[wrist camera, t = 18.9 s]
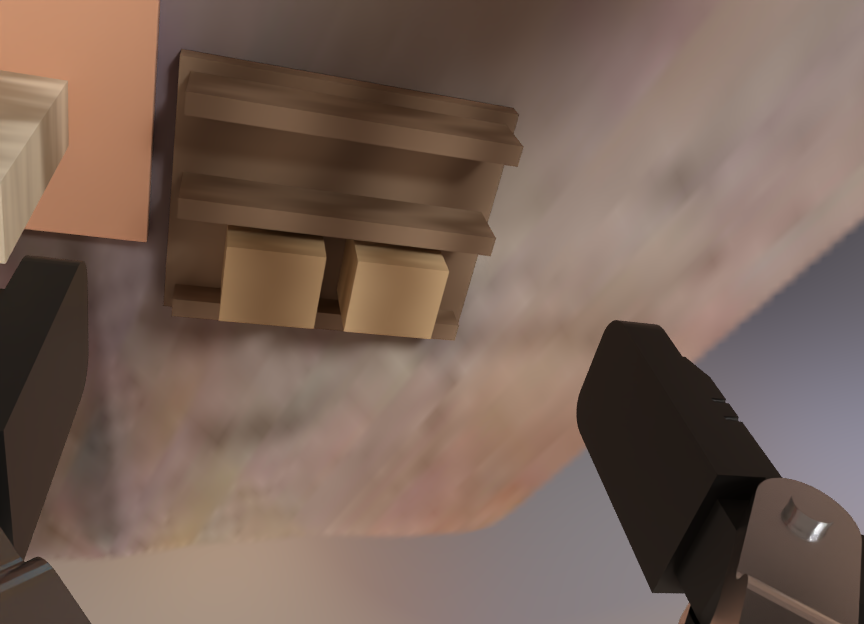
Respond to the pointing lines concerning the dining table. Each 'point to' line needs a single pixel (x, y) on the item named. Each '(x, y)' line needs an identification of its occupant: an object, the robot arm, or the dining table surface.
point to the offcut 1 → (271, 277)
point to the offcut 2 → (390, 288)
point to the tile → (93, 107)
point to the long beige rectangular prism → (28, 147)
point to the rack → (327, 174)
